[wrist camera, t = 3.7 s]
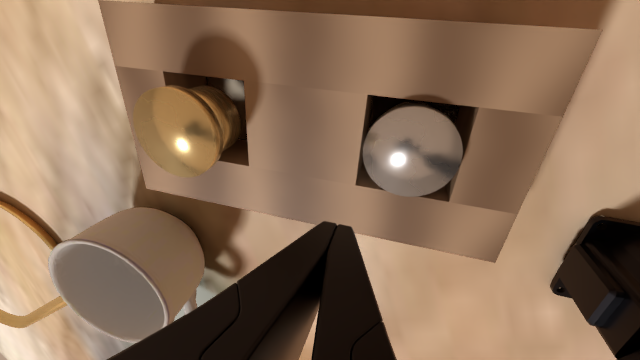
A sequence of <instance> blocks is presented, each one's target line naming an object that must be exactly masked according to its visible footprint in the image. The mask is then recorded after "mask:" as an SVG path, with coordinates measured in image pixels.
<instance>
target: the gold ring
mask: <svg viewBox="0 0 640 360" xmlns="http://www.w3.org/2000/svg"><path fill="white" fill-rule="evenodd" d="M0 207H1V208H2V209H4V210H6V211H7V212H9V213H11V214H12V215H13V216H15V217H16V218H18V219H19V220H20V221H22V222H23V223H24V224H25V225H27V226H28V227H29V228H30V229H31V230H32V231H34V232H35V233H36V234H37V235H38V236H39V237H40V238H41V239H42V240H43V241H44V242H45V243H46V245H47V246H48V247H49V248H50V249H51V250H53V249H54V247H55V246H57V245H58V244H57V243H56V242H55V241H54V239H53V238H52V237H51V236H50V235H49V234H48V233H47V232H46V231H45V230H44V229H43V228H42V227H41V226H40V225H38V224H37V223H36V222H35V221H34V220H32V219H31V218H30V217H28V216H27V215H26V214H24V213H23V212H21V211H20V210H18V209H17V208H15V207H13V206H11V205H9V204H7V203H5V202H3V201H1V200H0ZM65 306H67V303H66V302H64V300H63V299H62V297H61V296H59V297H57V298H56V299H54V300H52V301H51V302H49V303H47V304H45V305H44V306H42V307H40V308H39V309H37V310H35V311H33V312H32V313H30V314H28V315H26V316H16V315H12V314H9V313H7V312H5V311H2V310H0V323H2V324H5V325H8V326H11V327H15V328H25V327H27V326H29V325H31V324H33V323H35V322H37V321H39V320H40V319H42V318H44V317H46V316H48V315H50V314H52V313H54V312H55V311H57V310H59V309H61V308H63V307H65Z"/></svg>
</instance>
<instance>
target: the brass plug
mask: <svg viewBox="0 0 640 360" xmlns="http://www.w3.org/2000/svg"><path fill="white" fill-rule="evenodd" d="M133 124H134V129H135V132H136V136H137V138H138V140H139V142H140V144H141V146H142V148H143V149H144V151H145V152H146V154H147V155H148V156H149V157H150V158H151V159H152V161H154V162H155V163H156V164H157V165H158V166H159V167H161V168H162V169H164V170H165V171H167V172H169V173H171V174H173V175H176V176H180V177H196V176H199V175H201V174H202V173H204V172H205V171H207V170H208V169H210V168H211V167H213V166H214V165H215V164H216V163H217V162H218V160H219V158H220V156H221V154H222V152H223V151H224V150H226V149H227V148H229V147H230V146H232V145H233V144H234V143H235V142H236V141H237V139H238V137H239V134H240V129H241V122H240V116H239V113H238V110H237V108H236V106H235V105H234V103H233V102H232V100H231V99H230V98H229V97H228V96H227V95H226V94H225V93H224V92H222V91H221V90H219V89H217V88H215V87H212V86H205V85H203V86H197V87H193V88H190V89H187V88H184V87H181V86H175V85H169V86H163V87H158V88H154V89H150V90H148V91H146V92H144V93H143V94H142V95H141V96H140V97H139V98H138V100H137V102H136V104H135V107H134V112H133Z"/></svg>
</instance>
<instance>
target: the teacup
mask: <svg viewBox="0 0 640 360" xmlns="http://www.w3.org/2000/svg"><path fill="white" fill-rule="evenodd" d="M48 268H49V273H50V276H51V279H52V282H53V284H54V286H55V288H56V290H57V292H58V293H59V294H60V296H61V297H62V299H63V300H64V302H66V303H67V305H68V306H69V307H70V308H71V309H72V310H73V311H74V312H75V313H76V314H77V315H78V316H79V317H81V318H82V319H83V320H84V321H86V322H87V323H88V324H90V325H91V326H92V327H94V328H95V329H97V330H99V331H100V332H102V333H105V334H107V335H109V336H111V337H113V338H116V339H119V340H122V341H126V342H132V343H137V342H139V341H141V340H142V339H144V338H146V337H148V336H149V335H151V334H153V333H155V332H156V331H158V330H160V329H162V328H164V327H165V326H167V325H169V324H171V323H172V322H173V321H174V318H175V316H176V315H177V314H178V312H179V311H180V310H181V309H182V307H183V309H184V312H185V315H186V314H188V313H189V312H191V311H193V310H194V309H196V308H197V304H196V300H195V299H196V288H197V287H198V285H199V283H200V281H201V279H202V277H203V274H204V268H205V260H204V254H203V251H202V248H201V246H200V243H199V241H198V239H197V237H196V235H195V234H194V232H193V231H192V230H191V229H190V227H189V226H188V225H186V224H185V223H184V222H183V221H181V220H180V219H179V218H177V217H175V216H173V215H170V214H168V213H166V212H164V211H161V210H158V209H153V208H146V207H137V208H130V209H126V210H123V211H120V212H118V213H116V214H114V215H112V216H110V217H108V218H106V219H104V220H102V221H100V222H99V223H97V224H95V225H93V226H91V227H90V228H88V229H86V230H85V231H83V232H81V233H80V234H78V235H76V236H75V237H73V238H71V239H68V240H65V241H63V242H61V243H59V244H58V245H57V246H55V247H54V249H53V250H52V251H51V253H50V256H49V259H48Z"/></svg>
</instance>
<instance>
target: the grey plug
mask: <svg viewBox="0 0 640 360" xmlns="http://www.w3.org/2000/svg"><path fill="white" fill-rule="evenodd" d="M462 154H463V147H462V141H461V138H460V135H459V133H458V131H457V129H456V127H455V125H454V124H453V122H452V121H451V120H450V119H449V117H447V116H446V115H445V114H444V113H442V112H441V111H439V110H438V109H435V108H433V107H431V106H430V105H428V104H425V103H422V102H417V101H409V102H403V103H400V104H397V105H395V106H394V107H392V108H390V109H389V110H388V111H387V112H385V113H384V114H382V115H381V116H380V117H379V118H378V119H377V120H376V121H375V122H374V123H373V125H372V126H371V128H370V130H369V132H368V134H367V136H366V139H365V142H364V146H363V161H364V165H365V168H366V170H367V172H368V174H369V176H370V177H371V179H372V180H373V181H374V182H375V183H376V184H377V185H378V186H380V187H381V188H383V189H384V190H386V191H388V192H390V193H393V194H395V195H400V196H406V197H416V196H422V195H427V194H430V193H432V192H435V191H437V190H438V189H440V188H442V187H443V186H444V185H446V184H447V183H448V182H449V181H450V180H451V179H452V178H453V177H454V175H455V174H456V172H457V170H458V169H459V166H460V164H461V160H462Z"/></svg>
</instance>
